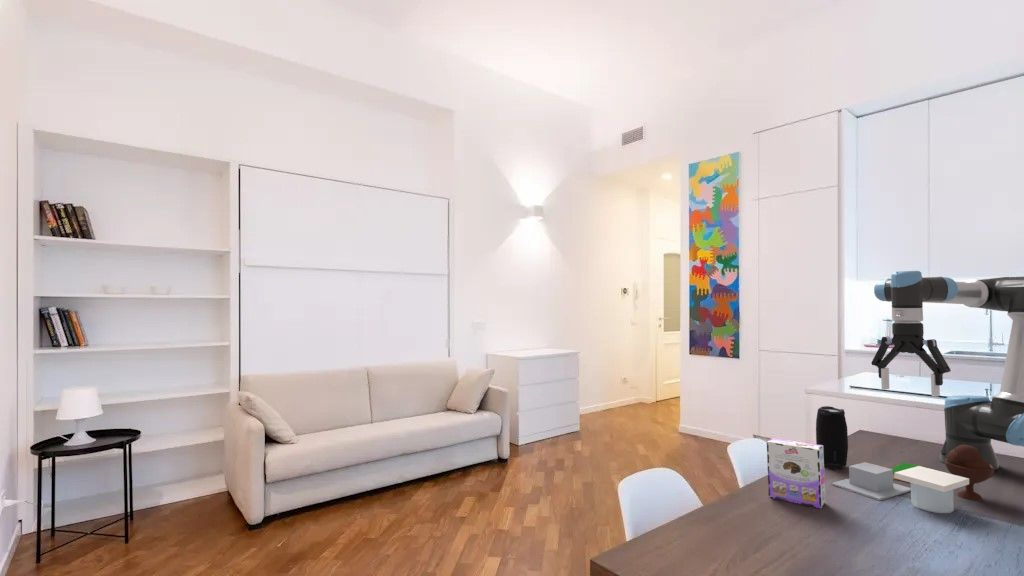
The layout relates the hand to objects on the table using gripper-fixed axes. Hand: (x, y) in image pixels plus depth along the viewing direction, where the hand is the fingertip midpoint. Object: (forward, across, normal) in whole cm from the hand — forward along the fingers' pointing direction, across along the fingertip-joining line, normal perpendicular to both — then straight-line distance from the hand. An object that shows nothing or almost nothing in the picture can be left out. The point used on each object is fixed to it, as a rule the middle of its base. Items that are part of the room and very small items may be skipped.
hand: (909, 392), depth 157 cm
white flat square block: (+22, +10, -10) cm, 26 cm away
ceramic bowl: (+29, +10, -10) cm, 32 cm away
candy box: (+29, -10, -38) cm, 49 cm away
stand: (+29, -6, -10) cm, 31 cm away
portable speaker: (+29, -24, -1) cm, 38 cm away
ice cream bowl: (+29, +11, +7) cm, 32 cm away
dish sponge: (+29, -7, +11) cm, 32 cm away
